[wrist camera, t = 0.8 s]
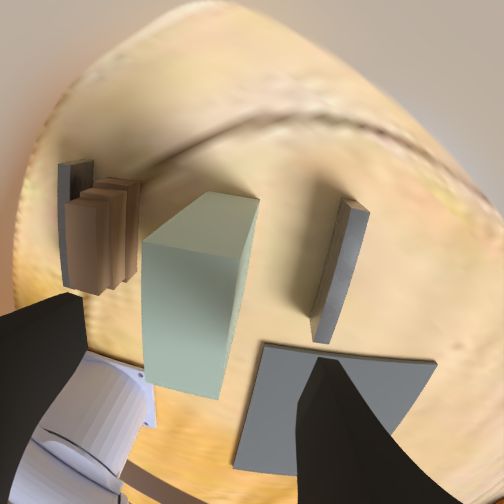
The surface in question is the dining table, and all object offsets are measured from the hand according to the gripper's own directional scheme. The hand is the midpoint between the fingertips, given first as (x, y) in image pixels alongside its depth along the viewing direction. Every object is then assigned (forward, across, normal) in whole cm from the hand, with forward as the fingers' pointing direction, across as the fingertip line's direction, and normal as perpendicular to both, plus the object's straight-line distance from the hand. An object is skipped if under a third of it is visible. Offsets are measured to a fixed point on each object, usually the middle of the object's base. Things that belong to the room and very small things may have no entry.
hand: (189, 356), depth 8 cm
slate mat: (+10, -10, +16) cm, 21 cm away
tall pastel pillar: (+10, +1, 0) cm, 11 cm away
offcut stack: (+10, +8, +1) cm, 13 cm away
